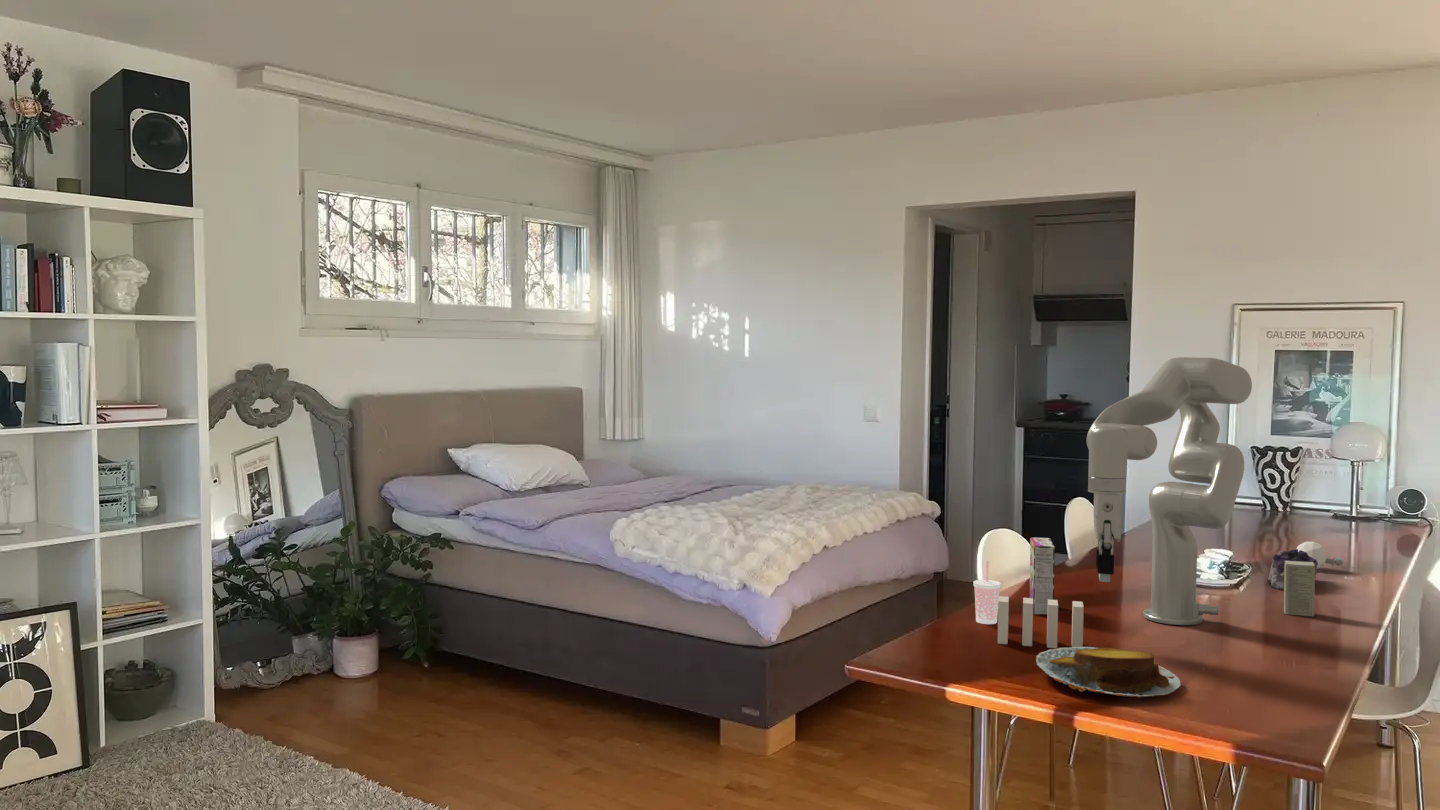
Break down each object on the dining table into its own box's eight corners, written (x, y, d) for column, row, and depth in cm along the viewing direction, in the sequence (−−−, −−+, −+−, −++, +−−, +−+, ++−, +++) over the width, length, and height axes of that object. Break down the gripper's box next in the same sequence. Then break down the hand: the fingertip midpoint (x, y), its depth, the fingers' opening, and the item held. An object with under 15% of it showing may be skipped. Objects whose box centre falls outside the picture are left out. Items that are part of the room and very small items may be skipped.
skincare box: (1312, 613, 250) (1314, 562, 249) (1314, 617, 246) (1316, 565, 245) (1282, 610, 252) (1284, 559, 252) (1283, 614, 248) (1285, 563, 248)
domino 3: (1056, 641, 225) (1057, 599, 224) (1057, 648, 220) (1058, 605, 219) (1046, 641, 225) (1047, 599, 225) (1047, 647, 221) (1048, 604, 220)
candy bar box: (1028, 603, 258) (1029, 536, 257) (1049, 604, 257) (1051, 537, 256) (1032, 615, 247) (1033, 545, 246) (1054, 616, 246) (1056, 546, 245)
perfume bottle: (1293, 551, 305) (1341, 560, 300) (1291, 572, 300) (1339, 581, 295) (1297, 532, 301) (1346, 541, 295) (1295, 553, 295) (1344, 562, 290)
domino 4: (1081, 643, 223) (1082, 601, 223) (1082, 650, 219) (1083, 607, 218) (1071, 643, 224) (1072, 601, 223) (1072, 649, 219) (1073, 606, 219)
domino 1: (1007, 638, 228) (1008, 596, 227) (1007, 644, 223) (1008, 602, 222) (998, 637, 228) (999, 596, 228) (997, 643, 223) (998, 601, 223)
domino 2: (1032, 639, 226) (1033, 598, 226) (1032, 646, 221) (1033, 603, 221) (1022, 639, 227) (1023, 597, 226) (1022, 645, 222) (1023, 603, 221)
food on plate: (1112, 656, 216) (1113, 623, 215) (1212, 695, 192) (1213, 658, 192) (1006, 670, 206) (1006, 636, 206) (1098, 712, 182) (1099, 674, 182)
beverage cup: (985, 626, 237) (986, 564, 236) (966, 620, 242) (967, 559, 242) (1006, 623, 240) (1007, 561, 239) (987, 616, 245) (988, 557, 244)
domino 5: (1108, 577, 226) (1109, 535, 225) (1110, 582, 221) (1111, 539, 221) (1098, 576, 226) (1099, 534, 226) (1099, 581, 222) (1101, 538, 221)
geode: (1314, 595, 268) (1309, 556, 268) (1263, 595, 275) (1258, 557, 275) (1323, 578, 284) (1318, 541, 284) (1275, 578, 291) (1271, 542, 291)
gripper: (1129, 491, 213) (1126, 580, 214) (1123, 481, 230) (1120, 564, 231) (1089, 489, 216) (1087, 578, 217) (1086, 479, 232) (1084, 562, 233)
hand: (1104, 570), depth 224 cm, fingers closed on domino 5, 4 cm apart
